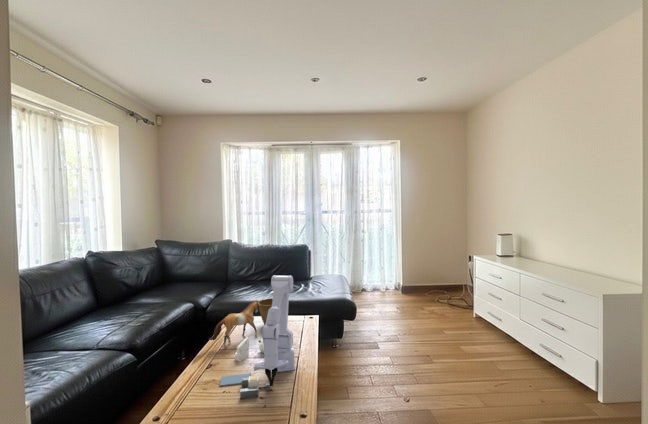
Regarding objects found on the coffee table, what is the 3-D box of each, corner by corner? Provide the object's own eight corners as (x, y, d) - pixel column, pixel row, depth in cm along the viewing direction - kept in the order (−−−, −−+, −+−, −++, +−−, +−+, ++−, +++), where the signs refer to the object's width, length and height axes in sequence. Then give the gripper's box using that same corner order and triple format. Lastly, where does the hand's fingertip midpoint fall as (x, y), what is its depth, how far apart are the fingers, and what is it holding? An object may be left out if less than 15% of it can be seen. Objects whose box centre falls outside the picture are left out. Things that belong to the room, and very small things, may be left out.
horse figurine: (257, 332, 187) (257, 299, 187) (264, 336, 182) (264, 302, 182) (208, 348, 166) (208, 311, 166) (214, 353, 160) (214, 315, 160)
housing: (258, 383, 132) (258, 376, 132) (258, 397, 122) (258, 389, 122) (242, 385, 131) (242, 378, 131) (240, 399, 121) (240, 391, 121)
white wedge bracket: (255, 349, 159) (248, 337, 156) (241, 365, 153) (234, 353, 149) (251, 347, 162) (244, 335, 158) (237, 363, 155) (229, 351, 151)
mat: (251, 374, 139) (251, 373, 139) (250, 382, 132) (250, 381, 132) (221, 377, 137) (221, 376, 137) (219, 386, 130) (219, 385, 130)
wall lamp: (269, 385, 130) (269, 373, 130) (269, 391, 126) (269, 378, 126) (249, 388, 128) (249, 375, 128) (248, 393, 125) (248, 380, 125)
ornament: (267, 356, 156) (258, 345, 156) (262, 355, 162) (254, 345, 162) (276, 346, 160) (267, 335, 160) (271, 346, 166) (263, 336, 166)
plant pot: (274, 319, 208) (273, 296, 208) (285, 326, 197) (285, 301, 197) (254, 325, 199) (254, 301, 199) (265, 332, 187) (265, 306, 187)
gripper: (253, 359, 123) (253, 392, 123) (288, 355, 126) (289, 388, 126) (253, 351, 130) (254, 383, 130) (287, 348, 132) (287, 378, 133)
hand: (271, 384), depth 128 cm, fingers closed
